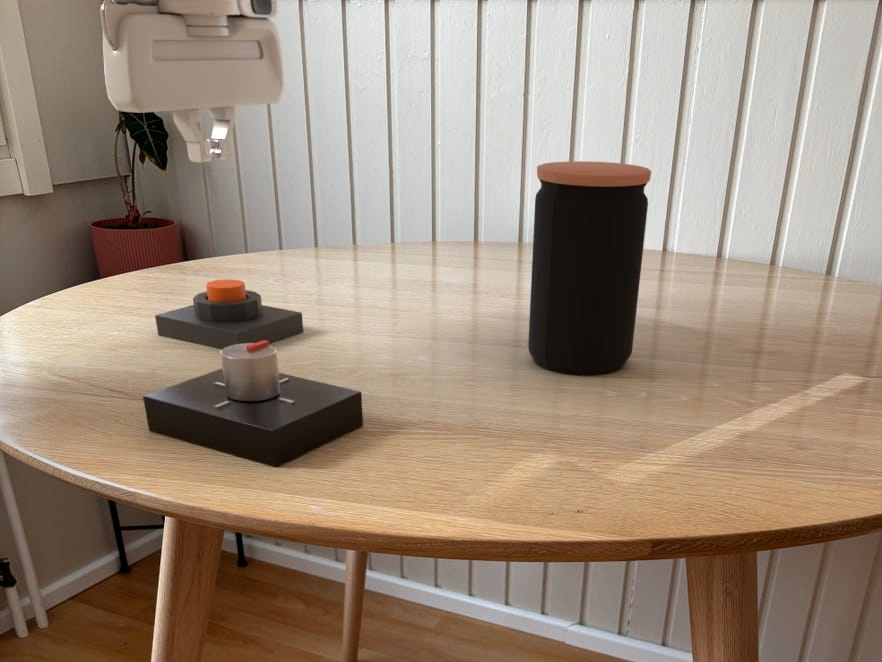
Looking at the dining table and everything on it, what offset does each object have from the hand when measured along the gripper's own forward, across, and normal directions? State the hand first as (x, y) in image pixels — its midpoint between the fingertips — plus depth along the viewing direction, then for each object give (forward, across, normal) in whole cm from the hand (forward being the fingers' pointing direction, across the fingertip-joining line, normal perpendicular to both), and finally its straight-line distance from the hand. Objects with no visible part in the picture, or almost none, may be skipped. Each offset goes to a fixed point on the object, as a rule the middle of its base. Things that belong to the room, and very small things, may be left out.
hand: (210, 160), depth 94 cm
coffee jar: (+17, +13, -36) cm, 42 cm away
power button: (+14, 0, 0) cm, 14 cm away
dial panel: (+17, -20, -22) cm, 34 cm away
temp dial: (+14, -20, -22) cm, 33 cm away
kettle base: (+17, 0, 0) cm, 17 cm away
